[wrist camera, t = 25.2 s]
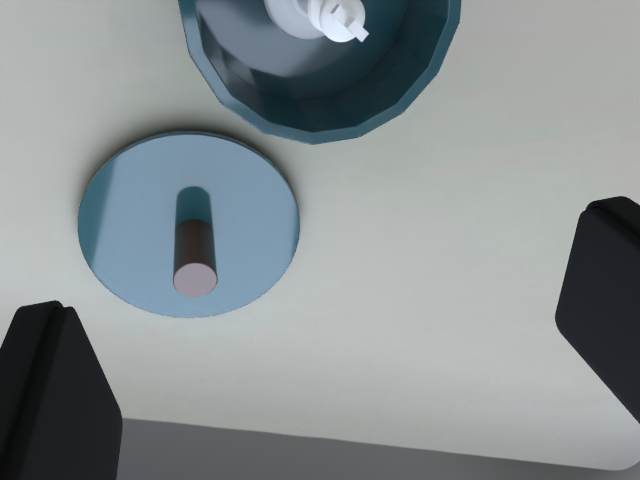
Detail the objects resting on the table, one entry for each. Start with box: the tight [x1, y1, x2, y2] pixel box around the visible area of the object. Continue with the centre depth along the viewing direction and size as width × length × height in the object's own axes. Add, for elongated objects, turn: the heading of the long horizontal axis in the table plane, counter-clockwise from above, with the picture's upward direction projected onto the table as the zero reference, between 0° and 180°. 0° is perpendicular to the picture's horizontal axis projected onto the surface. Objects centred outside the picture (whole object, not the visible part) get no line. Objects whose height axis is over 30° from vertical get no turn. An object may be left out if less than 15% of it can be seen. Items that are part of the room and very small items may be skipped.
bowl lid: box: [78, 131, 300, 318], centre depth 33 cm, size 14×14×6 cm
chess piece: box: [264, 0, 369, 42], centre depth 24 cm, size 5×5×10 cm
